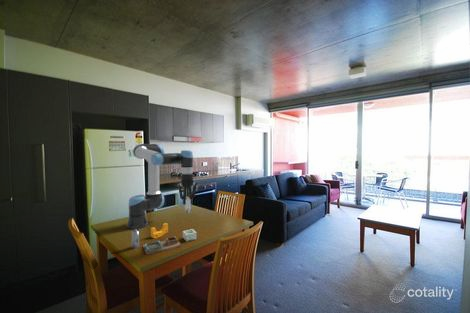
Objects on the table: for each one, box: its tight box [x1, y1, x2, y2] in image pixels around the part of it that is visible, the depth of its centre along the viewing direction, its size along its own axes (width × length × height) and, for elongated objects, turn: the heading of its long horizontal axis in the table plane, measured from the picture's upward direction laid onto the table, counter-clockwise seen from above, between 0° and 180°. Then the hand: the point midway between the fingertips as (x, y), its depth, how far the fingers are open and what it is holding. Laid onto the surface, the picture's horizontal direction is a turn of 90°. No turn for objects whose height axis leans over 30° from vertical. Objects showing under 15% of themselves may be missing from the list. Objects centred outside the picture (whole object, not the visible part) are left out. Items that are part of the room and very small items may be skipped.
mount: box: [142, 235, 182, 256], centre depth 129 cm, size 12×20×4 cm, turn 122°
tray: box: [182, 228, 197, 243], centre depth 140 cm, size 7×7×5 cm
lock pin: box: [184, 196, 191, 214], centre depth 138 cm, size 3×3×10 cm
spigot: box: [131, 229, 140, 250], centre depth 128 cm, size 4×4×11 cm
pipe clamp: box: [150, 222, 169, 239], centre depth 146 cm, size 12×4×6 cm, turn 144°
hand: (187, 208), depth 138 cm, fingers closed on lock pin, 2 cm apart
